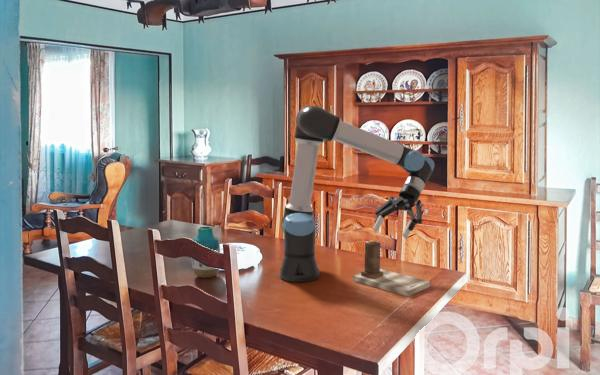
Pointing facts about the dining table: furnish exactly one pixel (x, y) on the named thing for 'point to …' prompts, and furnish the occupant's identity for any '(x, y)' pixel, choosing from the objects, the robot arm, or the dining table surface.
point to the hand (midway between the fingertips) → (389, 233)
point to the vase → (211, 242)
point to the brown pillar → (372, 260)
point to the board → (394, 283)
